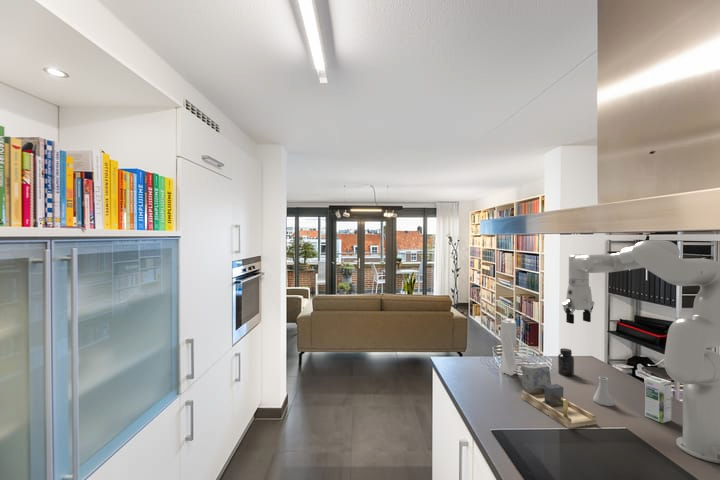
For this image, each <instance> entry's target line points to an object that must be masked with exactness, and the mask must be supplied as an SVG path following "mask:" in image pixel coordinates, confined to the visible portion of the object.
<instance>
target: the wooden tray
mask: <svg viewBox="0 0 720 480" xmlns="http://www.w3.org/2000/svg"><path fill="white" fill-rule="evenodd" d="M522 388H523V390H521V395H520V396H521V397H520V398H521V399H522V400H524V401H525V402H527V403H529V404H530V405H531V406H533V407H535V408H536V409H537V410H539V411H541V412H542V413H544V414H545V415H547V416H548V415H549V416H548V417H551V418H552V419H553V418H554V419H553V420H555V421H556V420H557V421H556V422H557V423H559V422H560V423H559V424H561V423H562V424H561V425H562V426H564V425H565V427H566V428H567V429H573V428H579V427H585V426H586V425H587V426H591V425H597V419H596V415H595V414H593V413H591V412H589V411H587V410H585V409H584V408H582V407H581V406H579V405H577V404H574V403H573V402H571V401H570V400H569V399H567V398H564V397H563V398H561V400H562V401H563V406H558V407H550V406H549V405H547V404H545V403H544V402H542V401H545V385H538V386H529V387H523V386H522Z"/></svg>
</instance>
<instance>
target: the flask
mask: <svg viewBox="0 0 720 480" xmlns="http://www.w3.org/2000/svg"><path fill="white" fill-rule="evenodd" d="M598 379H599V383H598V387H597V389H596V392H595V393H594V395H593V398H592V400H593V402H595V403H596V404H598V405H600V406H605V407H613V406H615V404H614V403H615V402H614V400H613V398H612V396H611V392H610V390H609V386H608V385H609V384H608V382H609V378H608V377H606V376H598Z"/></svg>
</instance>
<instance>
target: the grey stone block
mask: <svg viewBox="0 0 720 480" xmlns="http://www.w3.org/2000/svg"><path fill="white" fill-rule="evenodd" d="M550 369H551V368H550V366H549V365H546V364H545V365H544V364H541V363H537V362H536V363H535V364H526V365H525V364H521V365H520V370H521V372H522V374H521V375H522V384H521V385H522V388H523V387H529V386H538V385H552V380H551V372H550Z"/></svg>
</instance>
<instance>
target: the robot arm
mask: <svg viewBox="0 0 720 480" xmlns="http://www.w3.org/2000/svg"><path fill="white" fill-rule="evenodd" d="M680 254H681V250H680V248H679V246H677V244H675V243H674V242H672V241H670V240H666V239H665V240H664V239H663V240H662V239H648V240H647V239H646V240H642V241H641V240H639V242H636V243H635V244H634V245H629V246H625V247H623V248H622V249H621V250H620V252H616V253H609V254H574V253H573V254H570V255H569V256H568V286H567V290H566V301H564V302H562V307H563V311H564V312H565V314H566V317H565V318H566V319H565V320H566V323H568V324H571V325H573V324H574V323H575V314H574V313H575V311H583V312H582V321H583V322H587V323H591V321H592V320H591V319H592V314H591V313H592V312H593V309H594V306H595V302H594V301H593V296H592V295H593V294H592V290H591V286H590V274H599V273H601V274H605V273H606V274H607V273H608V274H609V273H615V272H622V271H623V272H624V271H631V270H637V269H643V268H644V269H645V270H647V271H648V272H650V273H652V274H653V275H655V276H656V277H658V278H660V279H661V280H663V281H665V282H666V283H668V284H671V285H674V286H678V287H689V286H690V287H693V286H694V287H695V286H699V291H698V292H697V294H696V295H695V297H694V301H693V308H692V311H691V315H690V316H686V317H685V316H684V317H680V318H678V319H676V320H674V321H673V322H672V323H671V324H670V326H669V328H668V330H667V337H666V342H665V349H664V355H663V365H664V369H665V371H666V374H667V375H668V376H669V377H670V378H671V379H672V380H674V381H675V382H677V383H679V384H682V386H683V387H682V436H680V437H677V438H676V439H675V443H676V446H677V447H678V448H679V449H680V450H682V451H684V452H685V453H686V454H689V455H691V456H693V457H695V458H697V459H701V460H704V461H707V462H710V463H716V464H720V353H718V352H716V351H714V350H711V349H715V348H719V347H720V262H719V261H716V260H713V259H710V258H709V259H708V258H700V257H699V258H694V257H693V258H680Z"/></svg>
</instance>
